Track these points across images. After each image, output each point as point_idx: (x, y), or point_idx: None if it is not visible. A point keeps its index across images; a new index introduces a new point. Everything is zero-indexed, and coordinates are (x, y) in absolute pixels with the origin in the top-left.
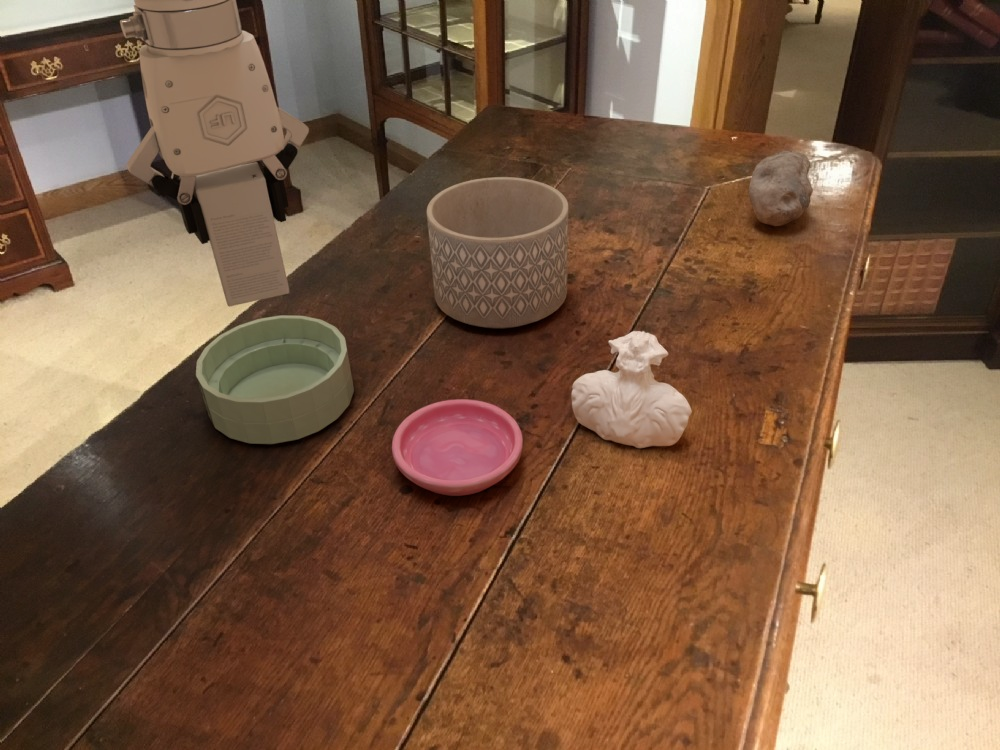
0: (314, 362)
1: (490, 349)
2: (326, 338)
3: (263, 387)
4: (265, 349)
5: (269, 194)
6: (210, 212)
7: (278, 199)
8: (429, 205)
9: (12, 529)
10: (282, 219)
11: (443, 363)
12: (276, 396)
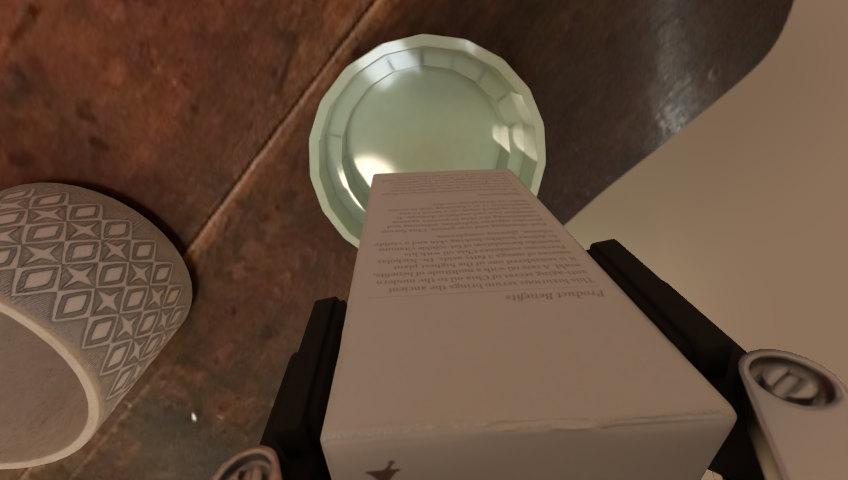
0: None
1: (114, 158)
2: (344, 211)
3: None
4: None
5: None
6: (613, 315)
7: (310, 357)
8: (94, 416)
9: (787, 9)
10: (327, 299)
11: (190, 150)
12: (439, 46)
